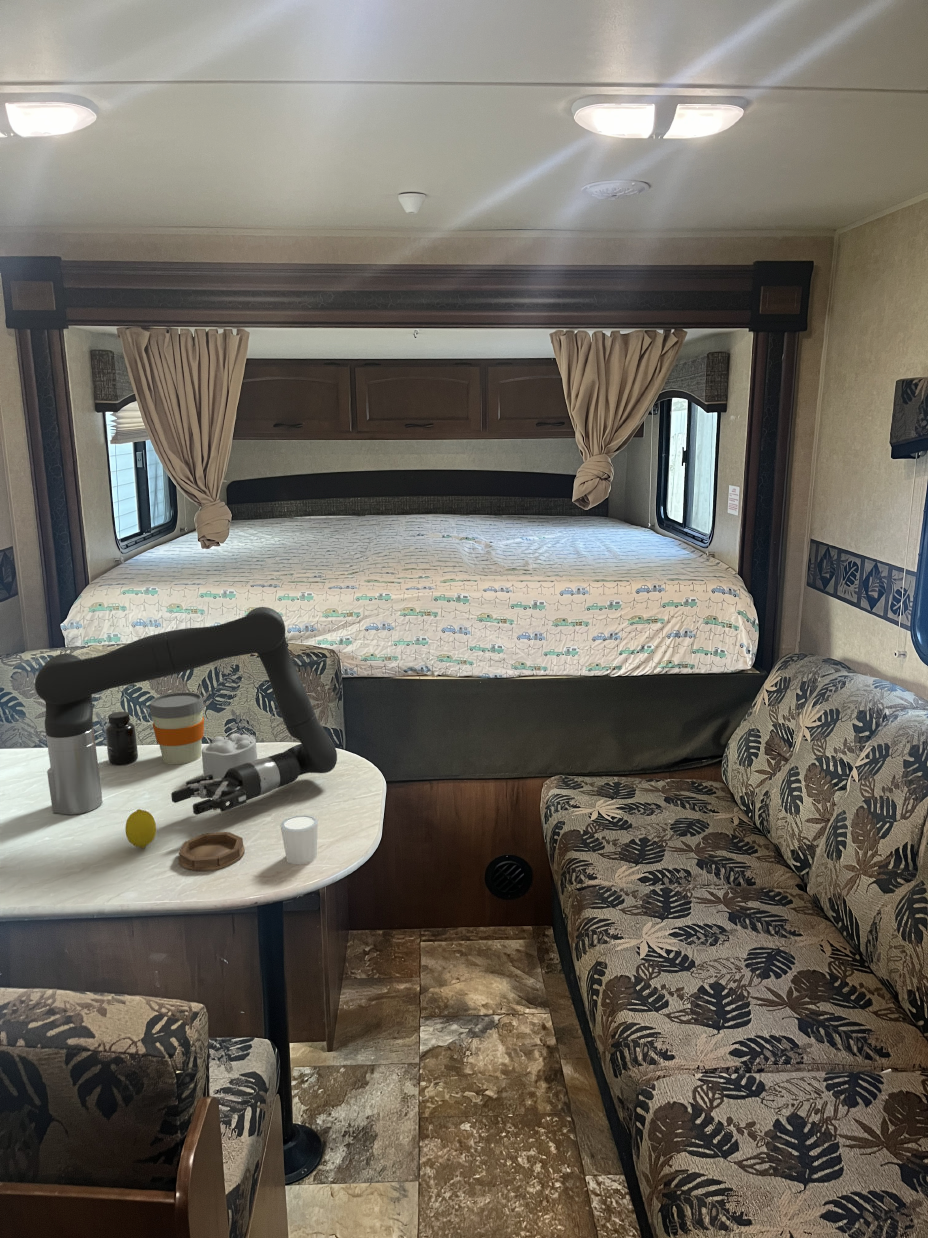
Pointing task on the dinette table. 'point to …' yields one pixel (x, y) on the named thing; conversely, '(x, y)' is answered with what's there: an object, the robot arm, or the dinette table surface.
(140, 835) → the lemon
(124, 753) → the supplement bottle
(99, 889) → the dinette table surface
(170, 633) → the robot arm
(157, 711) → the reusable coffee cup
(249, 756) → the lumpy-topped squat cylinder
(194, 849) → the ring dish
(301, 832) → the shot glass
